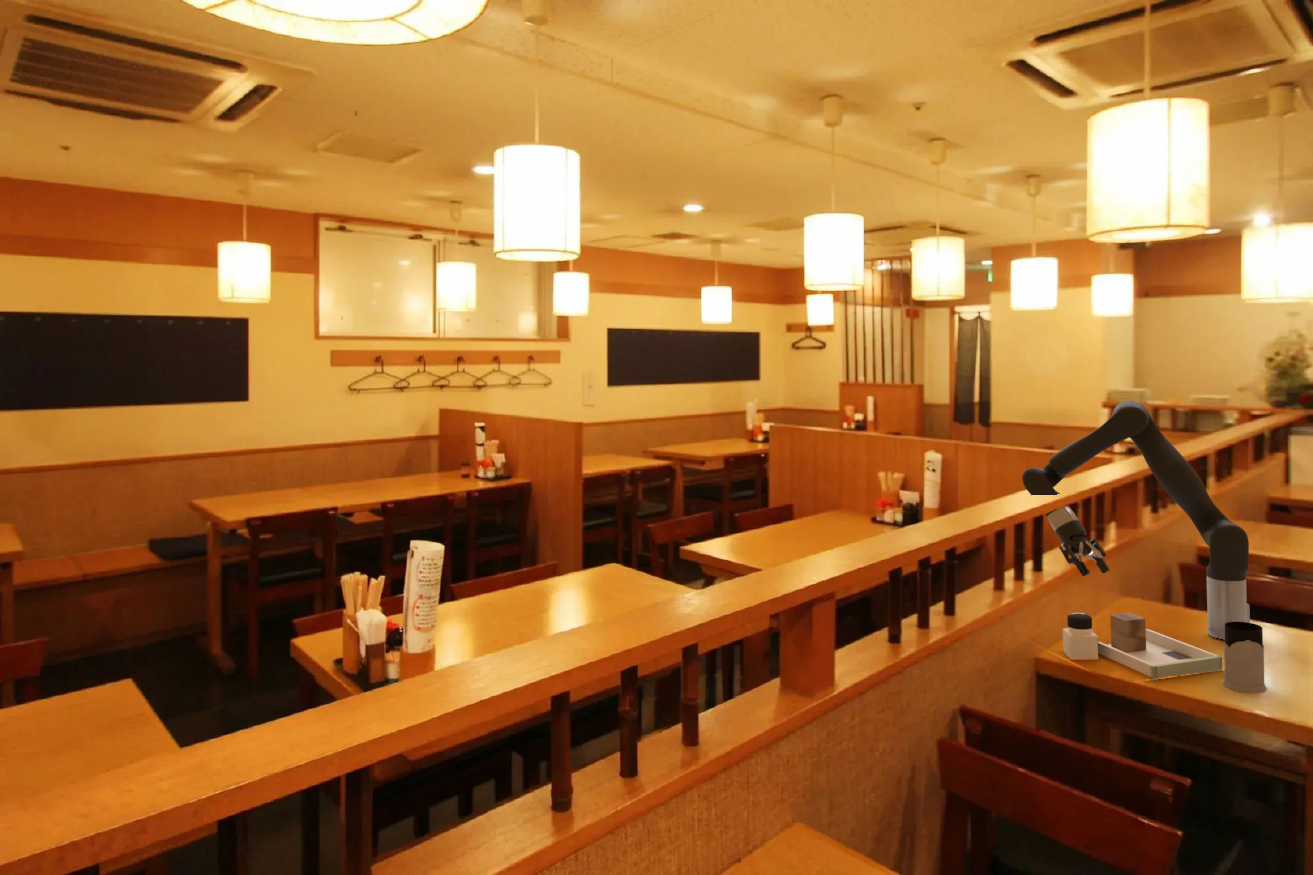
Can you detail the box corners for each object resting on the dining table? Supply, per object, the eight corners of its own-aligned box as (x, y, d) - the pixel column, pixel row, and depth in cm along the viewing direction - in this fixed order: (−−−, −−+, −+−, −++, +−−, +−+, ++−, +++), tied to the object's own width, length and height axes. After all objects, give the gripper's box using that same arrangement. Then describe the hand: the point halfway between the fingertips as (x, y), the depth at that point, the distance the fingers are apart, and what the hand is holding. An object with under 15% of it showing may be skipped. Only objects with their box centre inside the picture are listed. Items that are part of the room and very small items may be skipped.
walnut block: (1130, 643, 231) (1129, 612, 231) (1146, 650, 225) (1145, 618, 225) (1111, 646, 230) (1110, 615, 230) (1127, 652, 224) (1126, 620, 224)
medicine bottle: (1099, 661, 221) (1097, 618, 220) (1070, 661, 223) (1069, 618, 222) (1090, 652, 228) (1089, 610, 227) (1063, 652, 229) (1061, 610, 229)
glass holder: (1227, 691, 197) (1226, 630, 196) (1213, 670, 210) (1212, 613, 209) (1271, 694, 193) (1270, 632, 192) (1254, 673, 206) (1253, 615, 205)
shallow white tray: (1147, 640, 234) (1147, 628, 234) (1222, 670, 209) (1222, 656, 209) (1085, 649, 231) (1085, 637, 230) (1154, 680, 206) (1153, 666, 206)
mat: (1173, 653, 223) (1173, 650, 223) (1191, 660, 218) (1191, 657, 217) (1161, 654, 223) (1161, 652, 223) (1178, 662, 217) (1178, 659, 217)
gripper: (1058, 520, 239) (1089, 569, 230) (1091, 517, 245) (1122, 564, 236) (1041, 533, 244) (1070, 581, 236) (1073, 529, 250) (1103, 577, 242)
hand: (1096, 573), depth 236 cm, fingers open, 8 cm apart
